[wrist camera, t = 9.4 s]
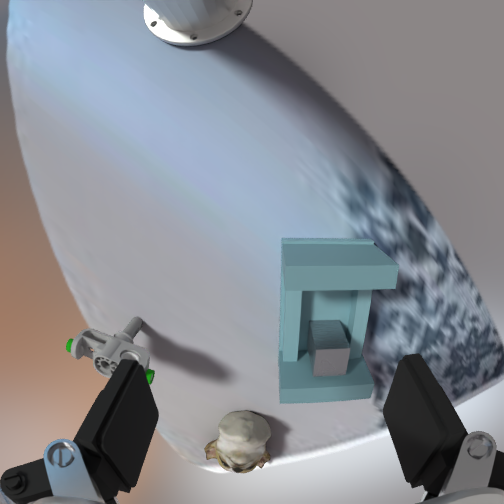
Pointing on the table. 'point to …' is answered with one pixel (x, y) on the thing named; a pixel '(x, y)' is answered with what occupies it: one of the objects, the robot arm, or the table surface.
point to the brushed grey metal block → (327, 348)
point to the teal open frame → (327, 312)
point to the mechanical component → (111, 349)
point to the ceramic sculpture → (240, 442)
